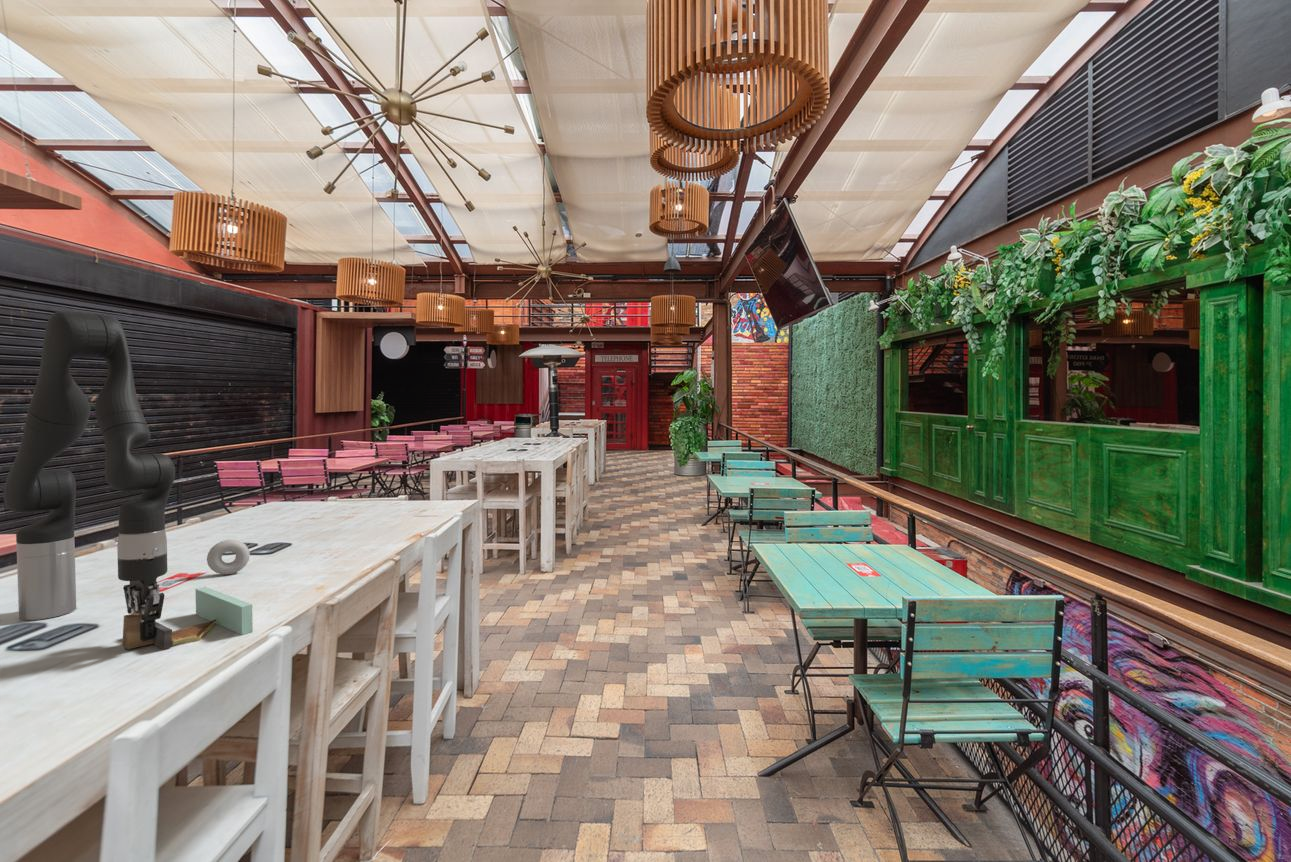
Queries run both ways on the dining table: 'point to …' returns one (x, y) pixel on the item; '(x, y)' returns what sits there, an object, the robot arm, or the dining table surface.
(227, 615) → the stop rail
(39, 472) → the robot arm
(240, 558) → the donut
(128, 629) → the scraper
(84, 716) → the dining table surface
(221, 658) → the dining table surface
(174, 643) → the shard
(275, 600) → the dining table surface
